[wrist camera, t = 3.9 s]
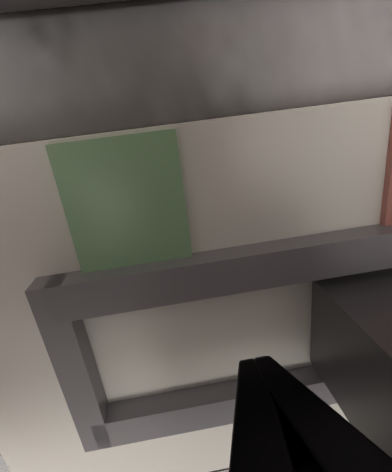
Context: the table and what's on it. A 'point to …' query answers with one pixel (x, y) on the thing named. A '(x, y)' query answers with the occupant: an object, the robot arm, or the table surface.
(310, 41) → the table surface
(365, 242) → the breaker switch base
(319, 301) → the breaker toggle
